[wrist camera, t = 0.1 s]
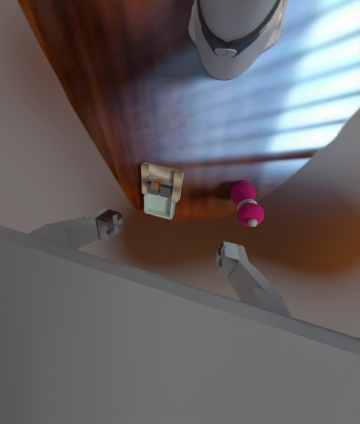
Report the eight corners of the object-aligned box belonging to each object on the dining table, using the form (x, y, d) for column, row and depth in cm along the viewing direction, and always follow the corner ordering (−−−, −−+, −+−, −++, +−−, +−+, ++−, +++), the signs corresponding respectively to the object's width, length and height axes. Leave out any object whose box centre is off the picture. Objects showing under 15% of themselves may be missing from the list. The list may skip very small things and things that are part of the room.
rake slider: (150, 173, 49) (141, 179, 43) (173, 178, 48) (168, 186, 42) (150, 179, 50) (142, 186, 44) (173, 184, 49) (167, 192, 43)
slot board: (144, 162, 48) (140, 164, 46) (184, 170, 47) (182, 173, 44) (144, 190, 55) (141, 193, 53) (179, 198, 54) (177, 202, 51)
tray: (148, 191, 55) (144, 195, 52) (176, 198, 54) (173, 202, 50) (148, 207, 60) (144, 212, 57) (173, 214, 59) (171, 219, 55)
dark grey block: (162, 183, 50) (160, 186, 48) (172, 185, 50) (170, 188, 47) (162, 192, 53) (159, 196, 50) (171, 194, 52) (169, 198, 50)
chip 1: (151, 180, 51) (148, 183, 48) (161, 182, 50) (158, 185, 48) (151, 190, 53) (148, 193, 51) (160, 192, 53) (158, 195, 50)
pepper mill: (229, 198, 49) (235, 236, 33) (229, 179, 45) (236, 211, 29) (251, 197, 47) (269, 237, 31) (253, 177, 43) (275, 210, 27)
